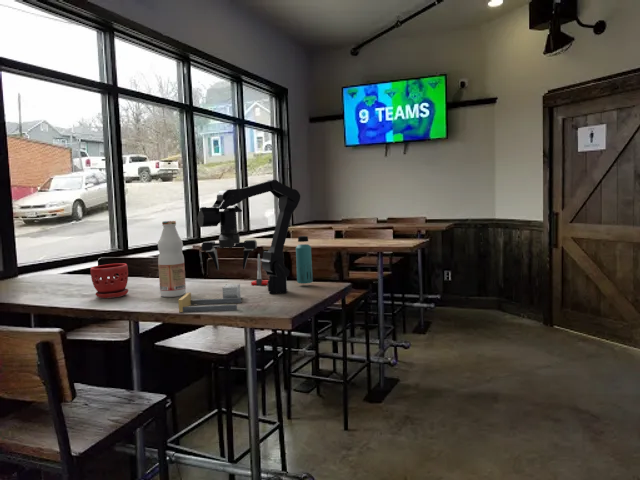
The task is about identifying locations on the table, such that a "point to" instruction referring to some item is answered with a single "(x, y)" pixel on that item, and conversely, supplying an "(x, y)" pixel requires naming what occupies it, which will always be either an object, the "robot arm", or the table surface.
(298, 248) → the beverage bottle
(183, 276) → the fruit juice
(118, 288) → the plant pot
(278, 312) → the table surface
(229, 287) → the aluminium lock block
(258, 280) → the receipt spike
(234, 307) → the guide rails
